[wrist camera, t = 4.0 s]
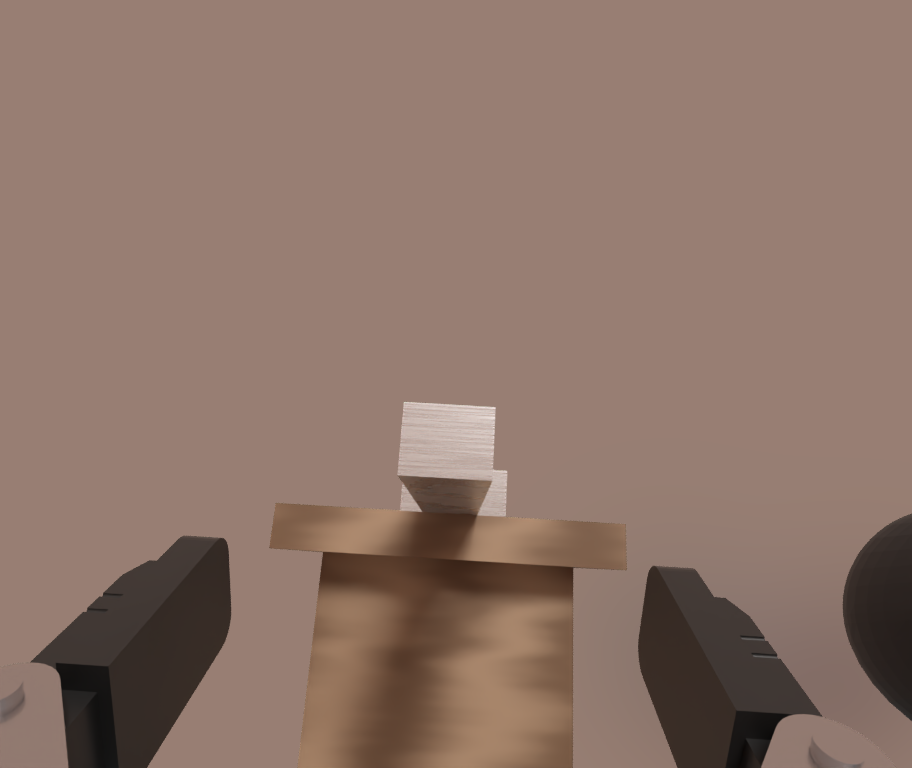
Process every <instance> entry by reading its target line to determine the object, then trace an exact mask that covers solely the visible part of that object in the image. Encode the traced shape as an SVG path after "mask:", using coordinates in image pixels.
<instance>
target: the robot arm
mask: <svg viewBox="0 0 912 768" xmlns="http://www.w3.org/2000/svg"><path fill="white" fill-rule="evenodd" d="M843 617H844V624H845V628H846V632H847V636H848V639H849V642H850V645H851V647H852V649H853V651H854V653H855V655H856V657H857V660H858V662H859V664H860V665H861V667H862V668H863V670H864V671H865V673H866V674H867V676H868V677H869V678H870V680H871V681H872V683H873V684H874V685H875V686H876V688H877V689H878V690H879V691H880V692H881V693H882V694H883V695H884V696H885V698H887V700H888V701H889V702H890V703H891V704H893V705H894V706H895V707H896V708H897V709H898V710H899V711H901V712H902V713H903V714H904V715H906V717H908V718H909V719H910V720H911V721H912V514H910V515H907V516H904V517H902V518H900V519H898V520H896V521H894V522H892V523H890V524H889V525H887V526H886V527H884V528H883V529H882V530H880V531H879V532H878V533H877V534H876V535H875V536H874V537H872V538H871V539H870V541H869V542H868V543H867V544H866V545H865V546H864V547H863V549H862V550H861V551H860V552H859V554H858V556H857V557H856V559H855V561H854V563H853V565H852V567H851V569H850V572H849V574H848V577H847V580H846V584H845V589H844V595H843ZM230 620H231V595H230V574H229V551H228V545H227V542H226V540H225V539H223V538H212V537H197V536H182V537H180V538H179V539H178V540H177V541H176V542H175V543H174V544H173V545H172V546H171V547H170V548H169V549H168V550H167V551H166V552H165V553H164V554H163V555H162V556H161V557H160V558H159V559H158V560H157V561H147V562H146V563H144V564H142V565H140V566H138V567H136V568H134V569H133V570H131V571H129V572H127V573H125V574H123V575H122V576H121V577H120V578H119V579H118V580H116V581H115V582H114V584H112V585H111V586H110V587H109V588H108V589H107V590H106V591H105V592H104V593H103V596H102V597H99V598H98V599H96V600H95V601H94V602H93V603H92V604H91V605H90V606H89V607H88V608H87V612H83V613H82V614H81V615H80V616H78V617H77V618H76V619H75V620H74V621H73V622H72V623H71V624H70V625H69V626H68V627H67V628H66V629H65V630H64V631H63V632H62V633H61V634H59V635H58V636H57V637H56V638H55V639H54V640H53V641H52V642H51V643H50V644H49V645H48V646H47V647H46V648H45V649H44V650H43V651H41V652H40V654H39V655H37V656H36V657H35V658H34V659H33V660H32V661H31V662H30V663H18V664H12V665H7V666H3V667H0V768H147V767H148V765H149V763H150V762H151V760H152V759H153V757H154V755H155V754H156V752H157V751H158V749H159V747H160V746H161V744H162V743H163V741H164V739H165V738H166V736H167V735H168V733H169V731H170V730H171V728H172V727H173V725H174V723H175V722H176V720H177V719H178V717H179V715H180V714H181V712H182V710H183V709H184V707H185V706H186V704H187V703H188V701H189V699H190V698H191V696H192V694H193V693H194V691H195V690H196V688H197V686H198V685H199V683H200V682H201V680H202V678H203V677H204V675H205V674H206V672H207V670H208V669H209V667H210V666H211V664H212V662H213V661H214V659H215V657H216V656H217V654H218V653H219V651H220V650H221V648H222V646H223V644H224V642H225V640H226V637H227V633H228V630H229V626H230ZM638 643H639V644H638V649H639V650H638V652H639V662H640V669H641V673H642V675H643V679H644V681H645V684H646V686H647V689H648V692H649V694H650V697H651V700H652V702H653V705H654V707H655V710H656V713H657V715H658V718H659V721H660V723H661V726H662V728H663V731H664V734H665V736H666V739H667V741H668V744H669V747H670V749H671V752H672V754H673V757H674V760H675V762H676V765H677V767H678V768H895V766H894V764H893V763H892V762H891V760H890V759H889V758H888V757H887V756H886V754H885V753H884V752H883V751H882V750H881V749H879V748H878V747H877V746H876V745H875V744H874V743H873V742H871V741H870V740H869V739H867V738H866V737H864V736H863V735H861V734H860V733H858V732H856V731H855V730H853V729H851V728H849V727H847V726H845V725H843V724H841V723H839V722H836V721H833V720H831V719H827V718H824V717H822V715H821V714H820V713H819V711H818V710H817V708H816V707H815V706H814V704H813V703H812V702H811V700H810V699H809V697H808V696H807V695H806V693H805V692H804V691H803V689H802V688H801V686H800V685H799V684H798V682H797V681H796V680H795V679H794V677H793V675H792V674H791V673H790V671H789V670H788V669H787V667H786V666H785V664H784V663H783V662H782V660H781V659H778V658H777V653H776V652H775V651H774V650H773V648H772V647H771V645H770V644H769V643H768V641H765V639H764V636H763V634H762V633H761V632H760V630H759V629H758V627H757V626H756V625H755V623H754V622H753V621H752V619H751V618H750V617H749V616H748V615H747V614H746V613H744V612H743V611H741V610H740V609H739V608H738V607H736V606H735V605H734V604H732V603H731V602H730V601H728V600H727V599H726V598H717V597H713V595H712V594H711V592H710V590H709V589H708V587H707V586H706V584H705V583H704V581H703V580H702V578H701V577H700V576H699V574H698V573H697V571H696V570H695V569H692V568H678V567H662V566H653V567H651V569H650V570H649V573H648V577H647V584H646V591H645V598H644V605H643V612H642V619H641V626H640V634H639V642H638Z"/></svg>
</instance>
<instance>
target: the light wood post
mask: <svg viewBox="0 0 912 768" xmlns="http://www.w3.org/2000/svg"><path fill="white" fill-rule="evenodd" d="M494 431H495V407H483V406H466V405H448V404H431V403H413V402H404V408H403V419H402V430H401V442H400V453H399V466H398V477H399V478H400V480H401V481H402V482H403V483H402V494H401V506H400V511H416V512H432V513H449V514H465V515H482V516H498V517H506V491H507V471H501V470H493V455H494Z"/></svg>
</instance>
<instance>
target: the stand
mask: <svg viewBox="0 0 912 768" xmlns="http://www.w3.org/2000/svg"><path fill="white" fill-rule="evenodd" d="M269 548H274V549H288V550H302V551H315V552H323V558H322V566H321V575H320V583H319V591H318V600H317V608H316V617H315V625H314V633H313V642H312V651H311V659H310V667H309V675H308V684H307V692H306V700H305V709H304V717H303V726H302V734H301V744H300V751H299V759H298V768H573V568H590V569H611V570H627V563H626V562H627V561H626V525H625V524H614V523H597V522H580V521H564V520H547V519H531V518H515V517H498V516H482V515H465V514H449V513H432V512H416V511H399V510H383V509H366V508H349V507H332V506H315V505H300V504H283V503H276V505H275V512H274V520H273V526H272V533H271V540H270V547H269Z"/></svg>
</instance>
